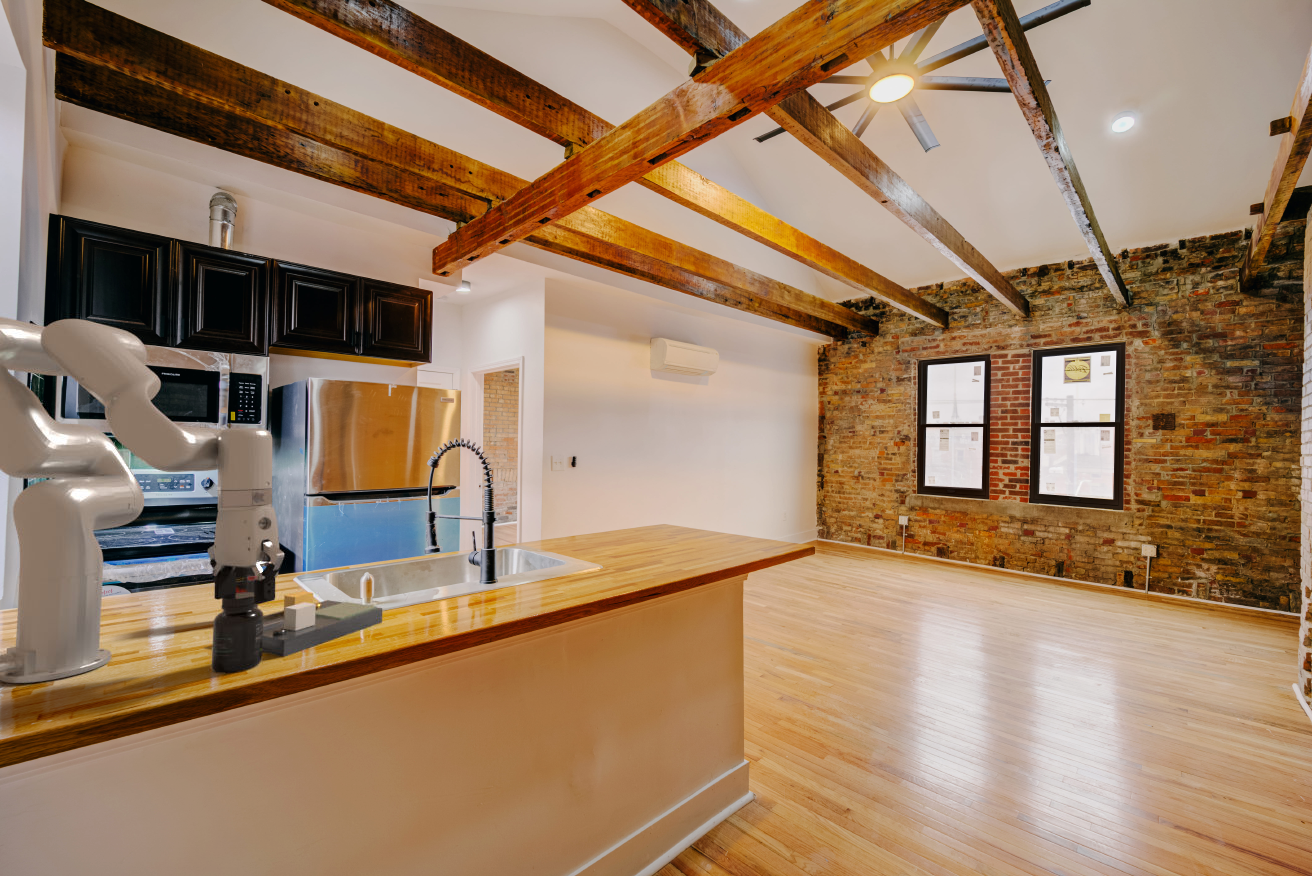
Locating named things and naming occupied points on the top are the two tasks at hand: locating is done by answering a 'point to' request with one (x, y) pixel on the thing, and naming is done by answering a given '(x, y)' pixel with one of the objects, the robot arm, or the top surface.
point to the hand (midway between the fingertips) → (244, 599)
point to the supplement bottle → (237, 634)
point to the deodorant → (245, 580)
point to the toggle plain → (299, 616)
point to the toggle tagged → (297, 599)
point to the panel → (317, 626)
